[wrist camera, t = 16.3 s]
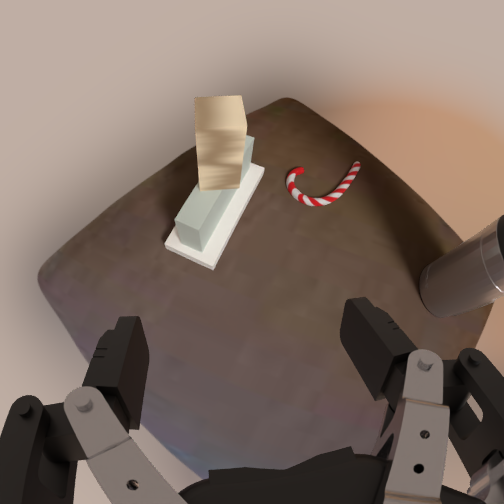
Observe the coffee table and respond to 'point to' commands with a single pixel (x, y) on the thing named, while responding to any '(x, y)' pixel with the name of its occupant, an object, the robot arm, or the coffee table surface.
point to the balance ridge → (213, 216)
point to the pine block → (220, 141)
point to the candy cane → (323, 200)
